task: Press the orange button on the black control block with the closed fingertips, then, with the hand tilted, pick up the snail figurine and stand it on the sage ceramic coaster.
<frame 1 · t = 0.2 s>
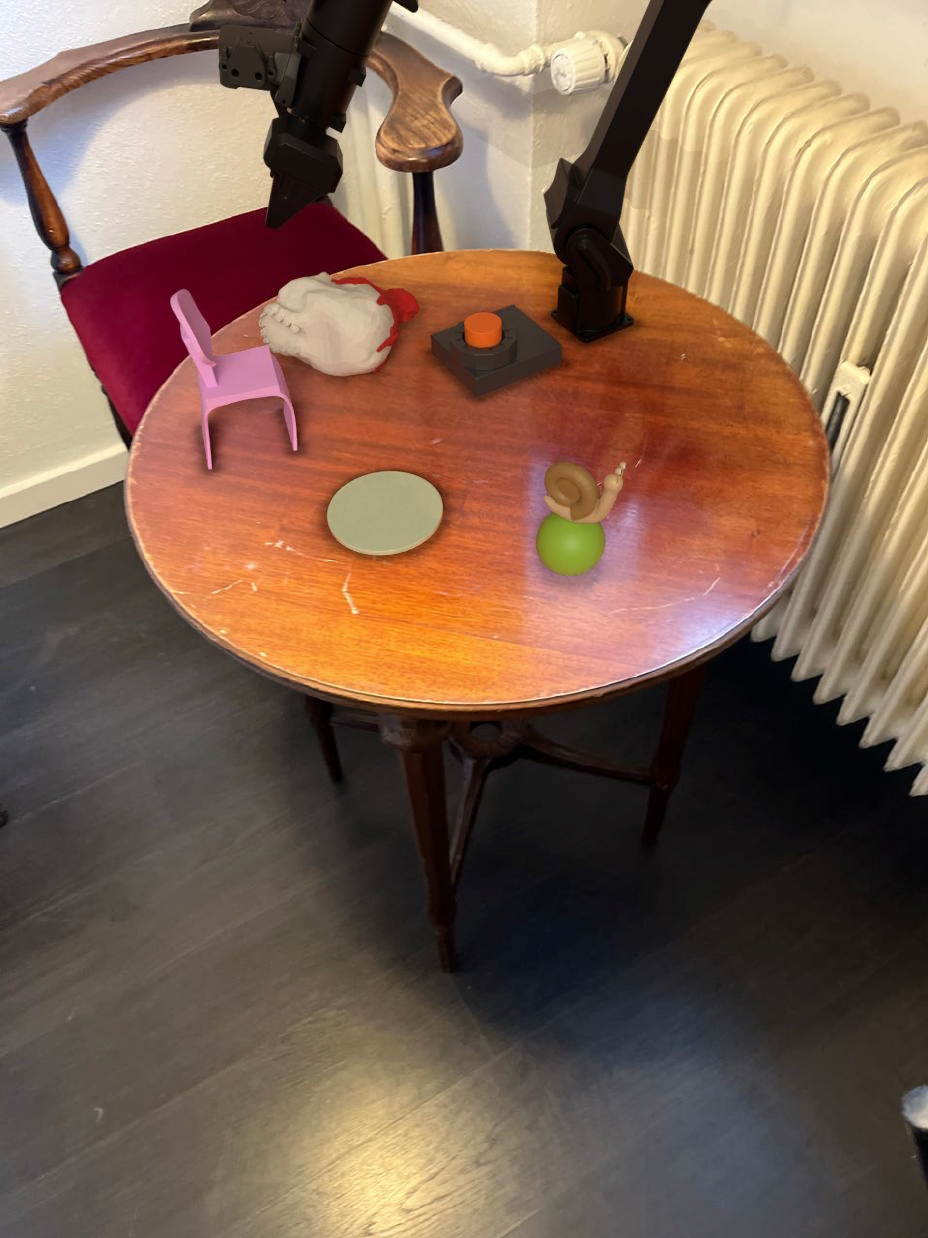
hand: (272, 202, 83), 15 cm above the table, tool tilted 30°, fingers open, 9 cm apart
coaster: (385, 513, 77), on the table
button block: (495, 358, 91), on the table
snail figurine: (574, 568, 72), on the table
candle: (356, 360, 92), on the table
toy chair: (252, 440, 84), on the table
button: (483, 330, 86), point 4 cm above the table, slide at 0.1 cm
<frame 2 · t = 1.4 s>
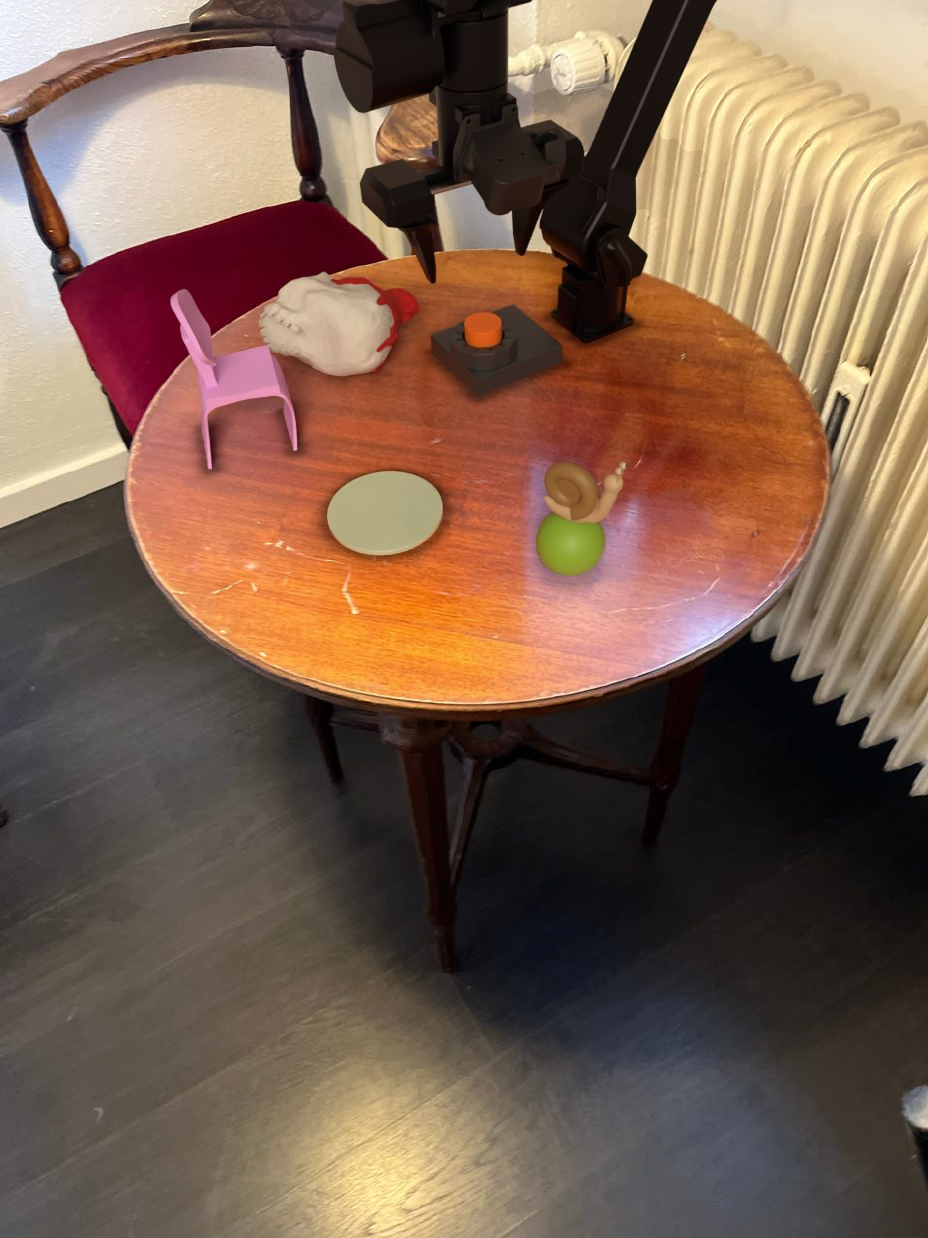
hand: (476, 267, 81), 11 cm above the table, tool pointing down, fingers open, 9 cm apart
nothing on the table moved.
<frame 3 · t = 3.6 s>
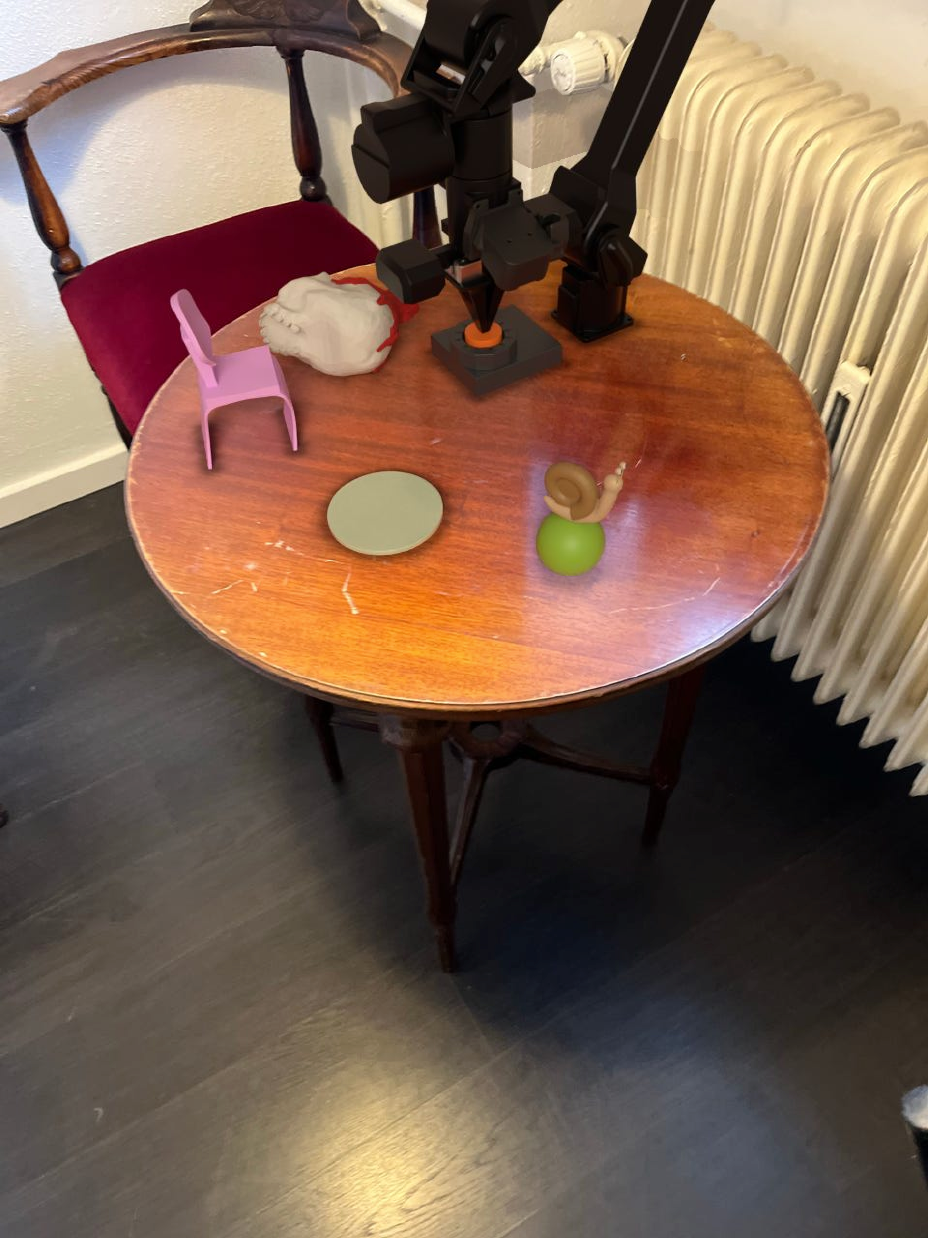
hand: (483, 330, 86), 4 cm above the table, tool pointing down, fingers closed, pressing on button
button: (483, 338, 87), point 4 cm above the table, slide at -0.8 cm, touching gripper
everything else where it was.
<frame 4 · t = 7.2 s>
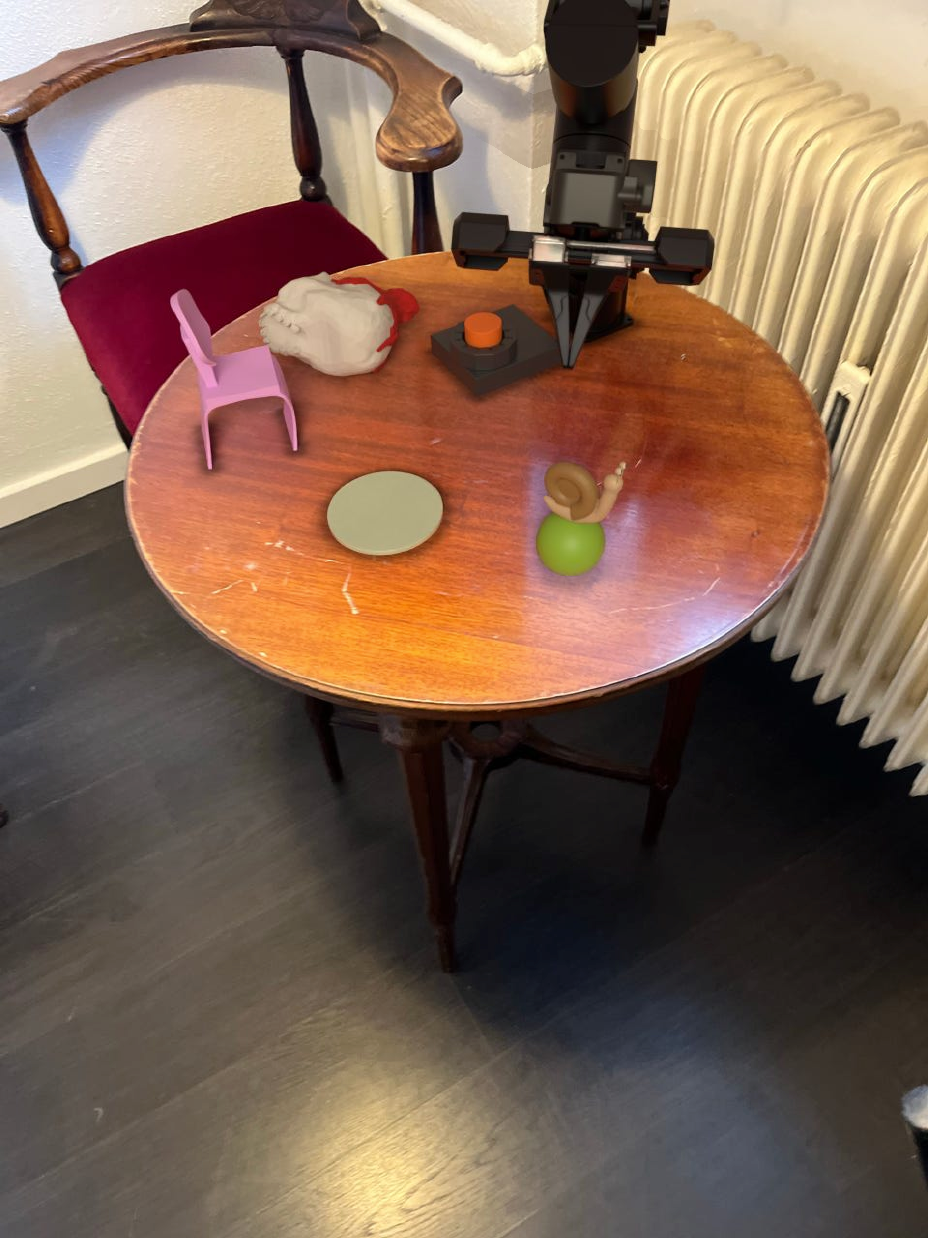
hand: (567, 369, 67), 13 cm above the table, tool tilted 40°, fingers closed
button: (483, 330, 86), point 4 cm above the table, slide at 0.1 cm
everything else where it was.
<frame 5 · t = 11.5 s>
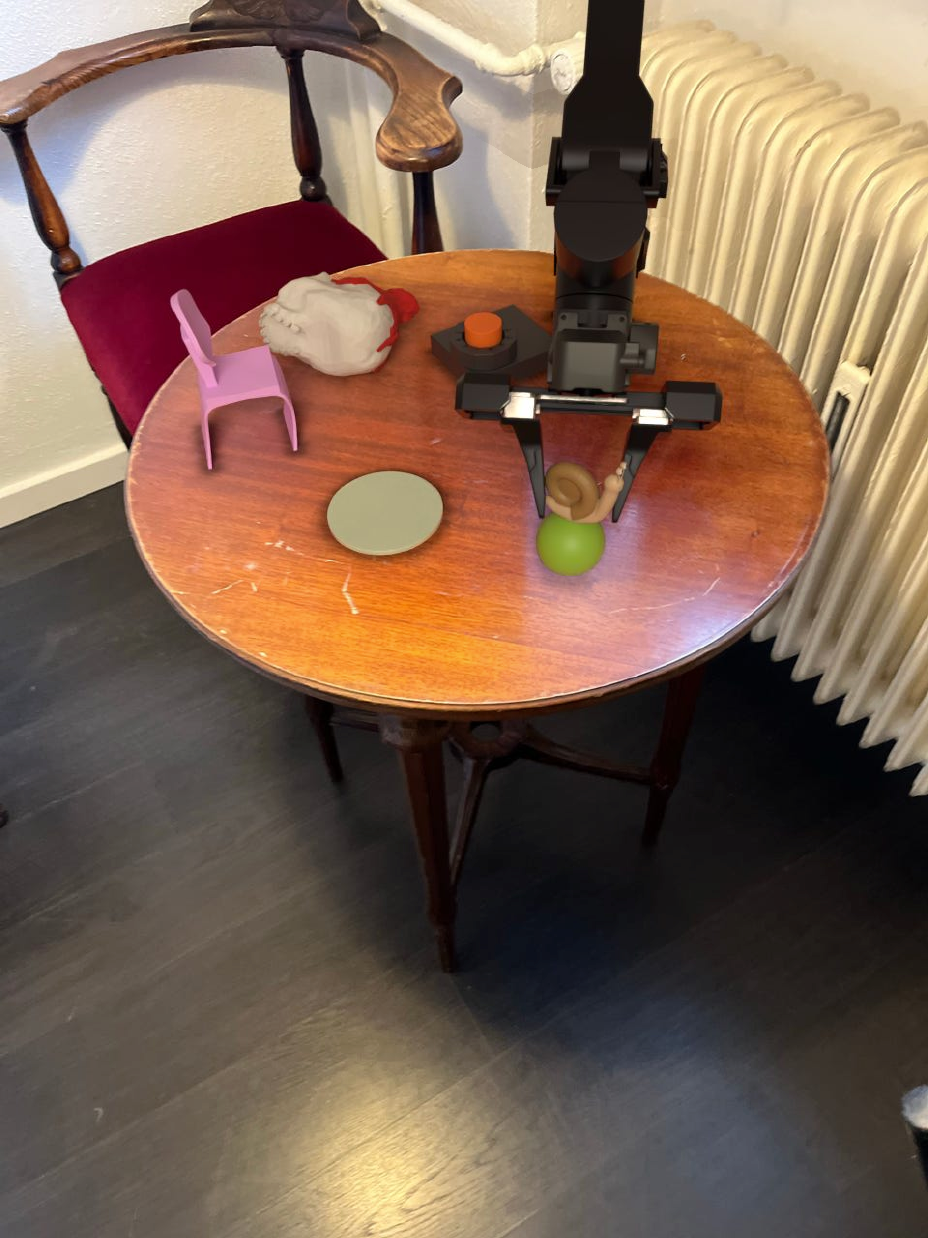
hand: (577, 520, 66), 7 cm above the table, tool tilted 45°, fingers closed on snail figurine, 5 cm apart
snail figurine: (574, 568, 72), on the table, touching gripper
everything else where it was.
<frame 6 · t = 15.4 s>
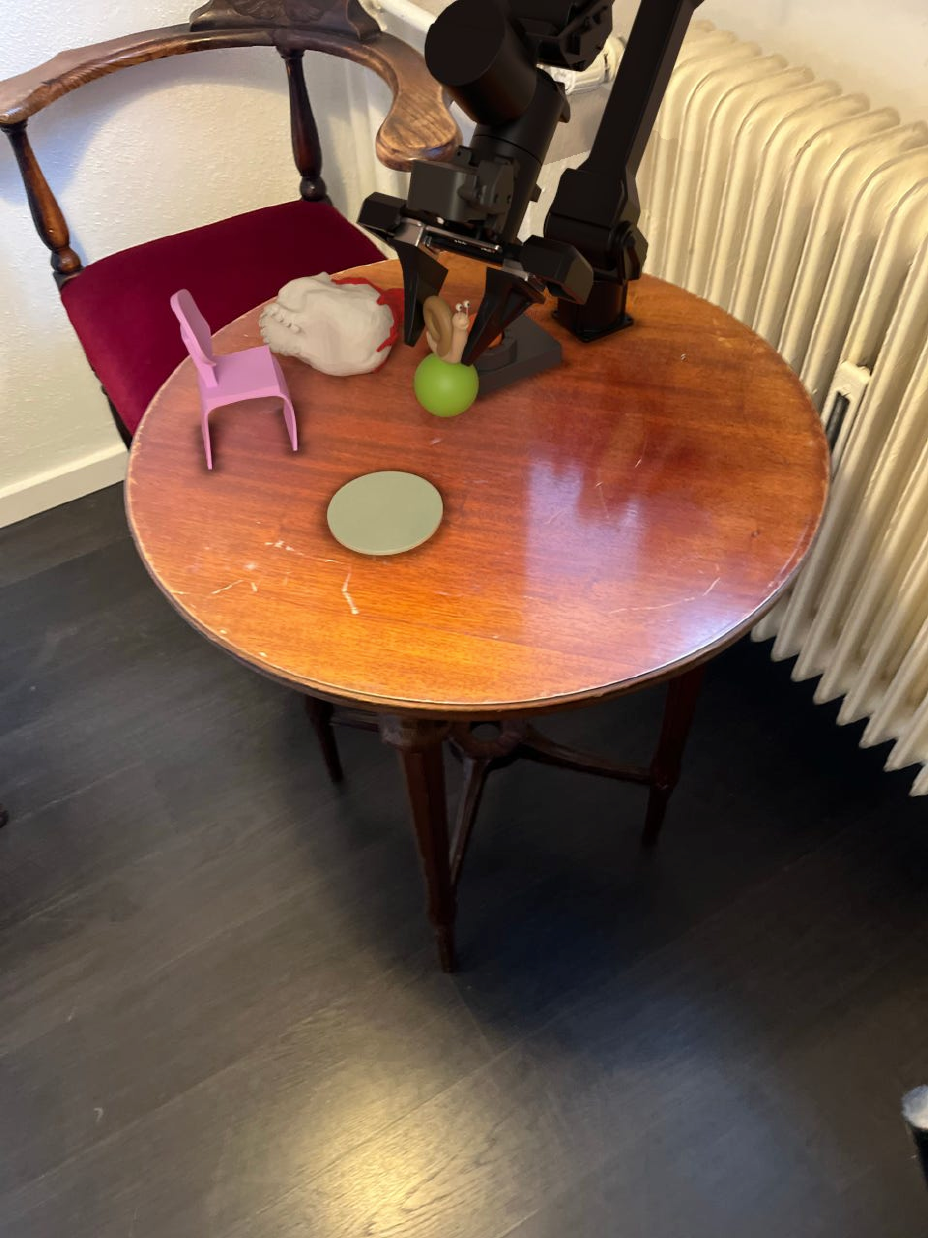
hand: (435, 355, 70), 12 cm above the table, tool tilted 45°, fingers closed on snail figurine, 5 cm apart
snail figurine: (451, 414, 76), point 6 cm above the table, touching gripper
everything else where it was.
when the fingers open (7 cm above the table, at t = 19.4 s): snail figurine stays where it is, resting on coaster.
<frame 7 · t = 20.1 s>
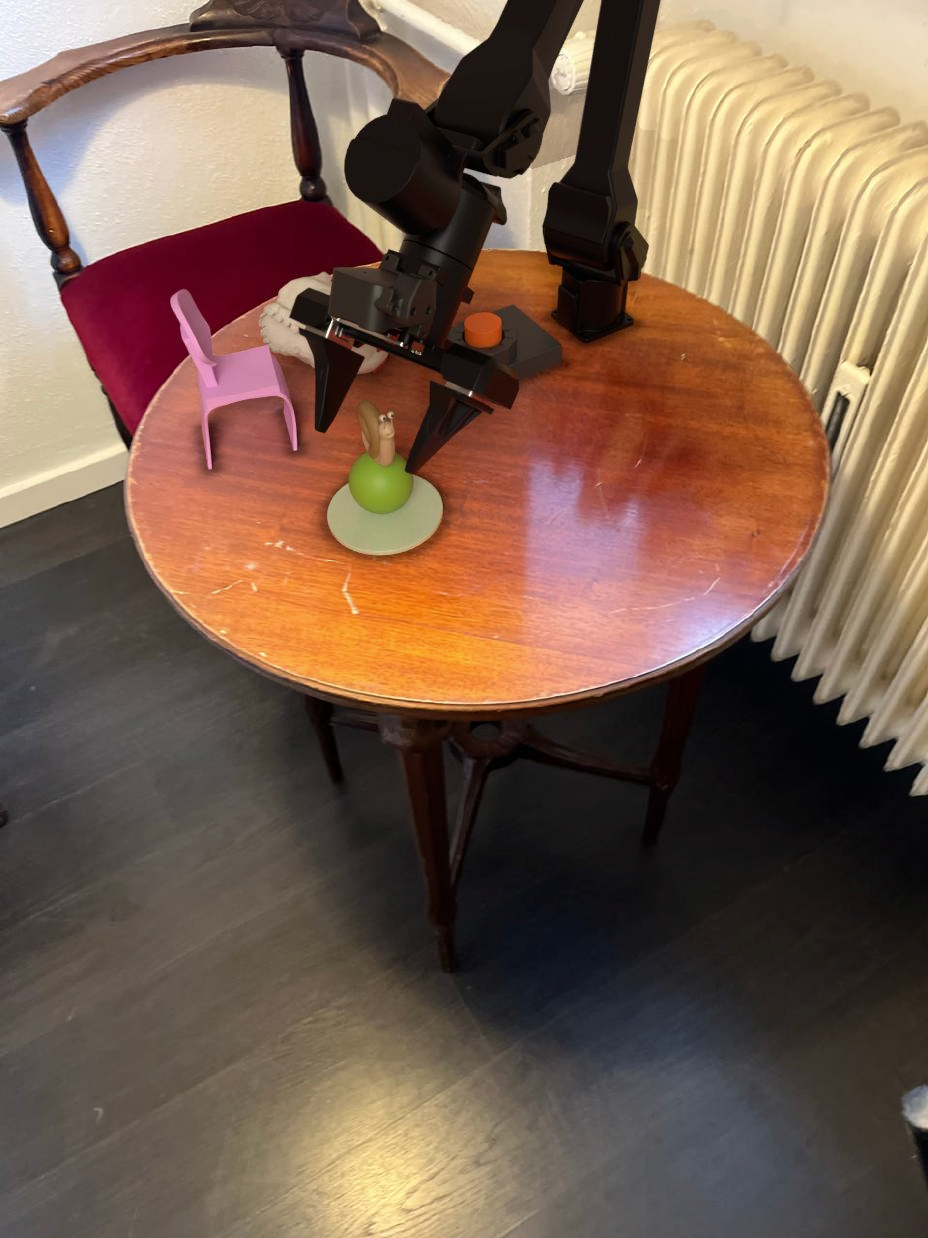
hand: (363, 452, 70), 8 cm above the table, tool tilted 45°, fingers open, 9 cm apart
snail figurine: (387, 510, 77), resting on coaster
everything else where it was.
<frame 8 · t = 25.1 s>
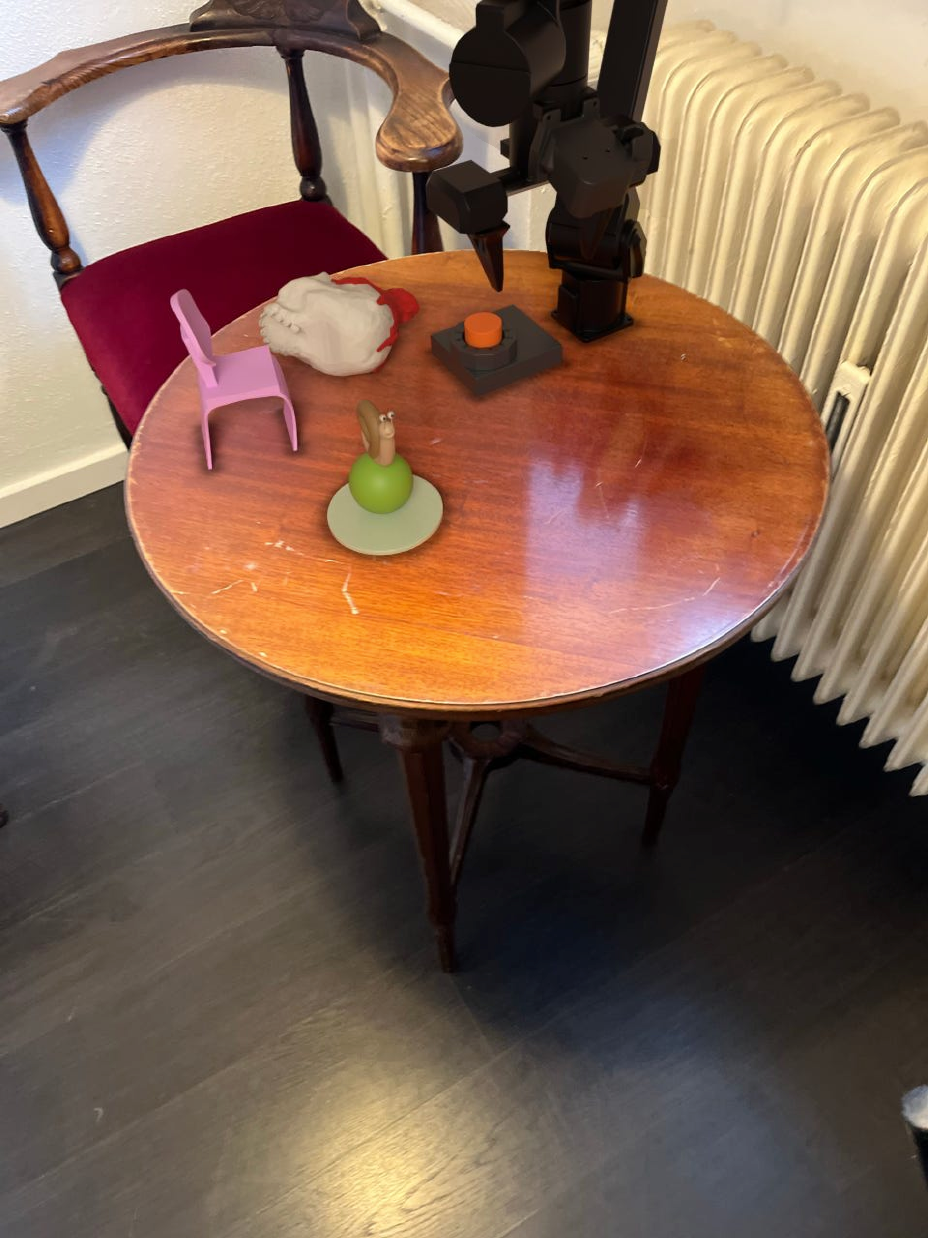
hand: (542, 273, 76), 13 cm above the table, tool pointing down, fingers open, 9 cm apart
nothing on the table moved.
at the end: button pushed in 1.2 cm at the most during the clip, back to where it started at the end; snail figurine 0.2 cm off-centre on the coaster, point 0.3 cm above the coaster's base; snail figurine tilted 0° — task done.
